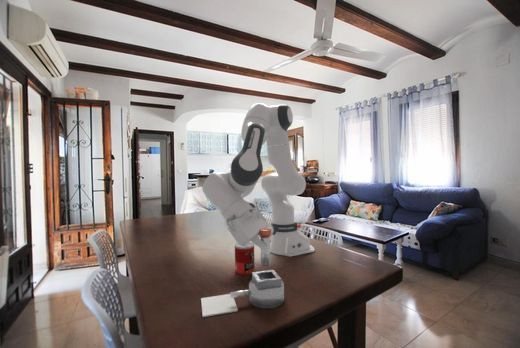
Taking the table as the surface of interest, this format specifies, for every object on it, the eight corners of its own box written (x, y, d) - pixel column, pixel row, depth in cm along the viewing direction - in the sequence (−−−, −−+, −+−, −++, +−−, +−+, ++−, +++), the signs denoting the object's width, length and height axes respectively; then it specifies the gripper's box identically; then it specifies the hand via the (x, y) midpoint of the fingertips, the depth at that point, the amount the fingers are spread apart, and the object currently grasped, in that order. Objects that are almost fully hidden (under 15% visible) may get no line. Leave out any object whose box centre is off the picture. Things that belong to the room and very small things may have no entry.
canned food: (247, 277, 95) (247, 248, 95) (231, 272, 100) (230, 245, 99) (258, 270, 102) (257, 243, 102) (242, 266, 106) (242, 240, 106)
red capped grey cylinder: (269, 261, 81) (269, 228, 81) (273, 266, 78) (273, 230, 77) (258, 263, 80) (257, 229, 80) (261, 267, 77) (261, 231, 76)
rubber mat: (232, 294, 82) (232, 293, 82) (237, 311, 73) (237, 309, 73) (201, 299, 80) (201, 298, 80) (202, 317, 70) (202, 315, 70)
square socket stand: (277, 288, 86) (276, 266, 86) (289, 305, 75) (289, 280, 75) (227, 296, 81) (227, 273, 81) (233, 315, 71) (233, 288, 71)
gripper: (230, 212, 71) (263, 249, 68) (255, 203, 90) (282, 231, 87) (216, 227, 73) (248, 264, 70) (244, 214, 92) (269, 243, 89)
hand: (267, 246), depth 79 cm, fingers closed on red capped grey cylinder, 3 cm apart
